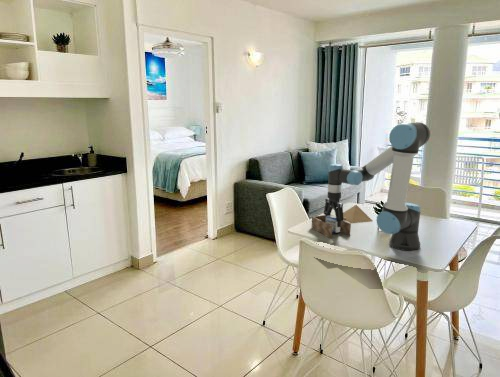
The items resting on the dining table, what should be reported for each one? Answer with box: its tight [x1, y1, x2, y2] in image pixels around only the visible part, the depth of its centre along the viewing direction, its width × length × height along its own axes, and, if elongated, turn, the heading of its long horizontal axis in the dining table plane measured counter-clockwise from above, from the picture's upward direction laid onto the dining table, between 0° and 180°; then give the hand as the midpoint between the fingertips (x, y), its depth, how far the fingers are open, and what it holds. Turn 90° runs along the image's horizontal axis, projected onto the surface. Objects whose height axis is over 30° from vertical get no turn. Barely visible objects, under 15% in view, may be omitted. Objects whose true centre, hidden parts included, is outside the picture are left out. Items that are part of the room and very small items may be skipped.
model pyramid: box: [343, 204, 374, 224], centre depth 246 cm, size 17×17×10 cm
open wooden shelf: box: [311, 213, 352, 239], centre depth 222 cm, size 20×13×7 cm, turn 23°
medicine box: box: [326, 215, 339, 233], centre depth 219 cm, size 8×4×9 cm, turn 62°
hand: (332, 229), depth 220 cm, fingers closed on medicine box, 9 cm apart
